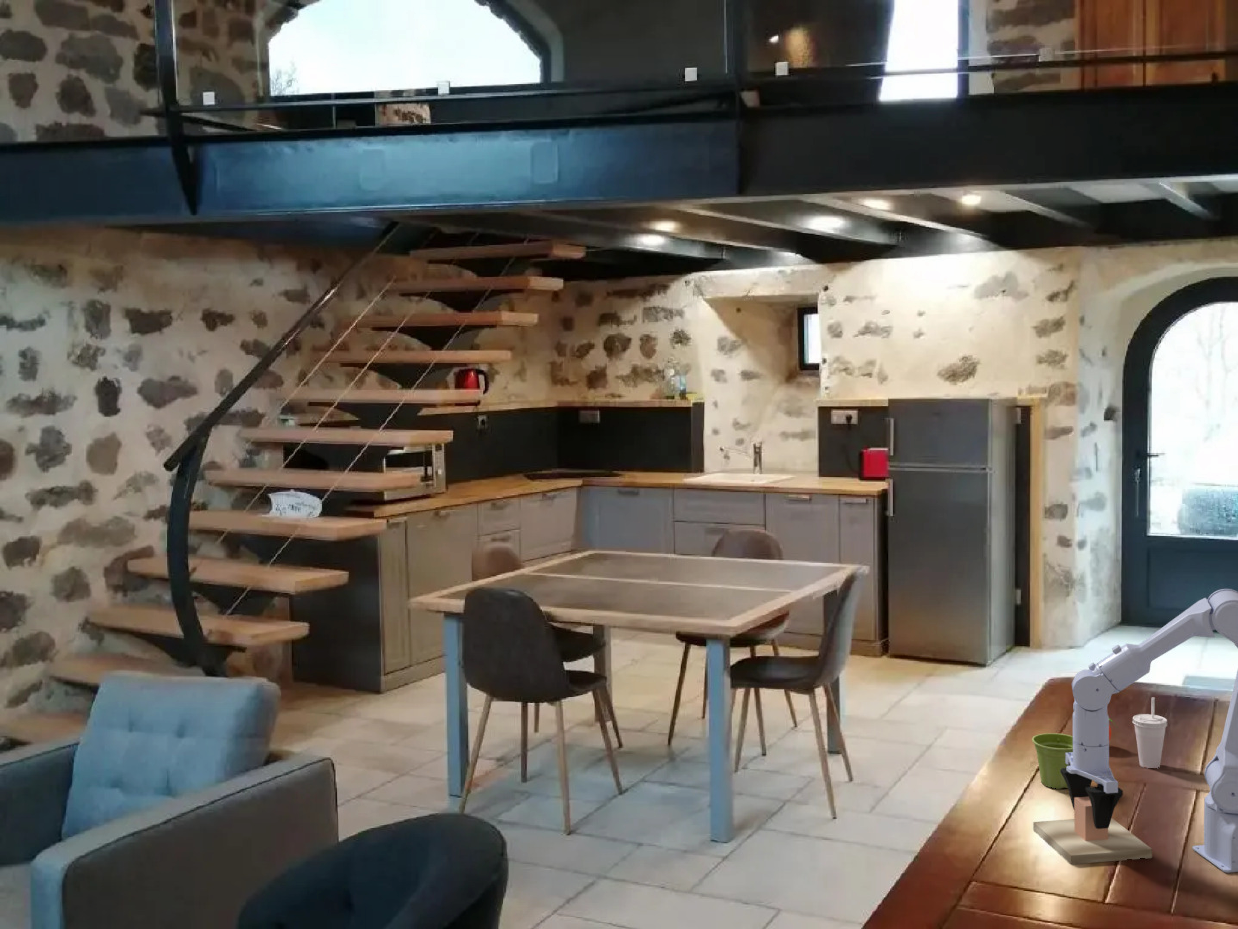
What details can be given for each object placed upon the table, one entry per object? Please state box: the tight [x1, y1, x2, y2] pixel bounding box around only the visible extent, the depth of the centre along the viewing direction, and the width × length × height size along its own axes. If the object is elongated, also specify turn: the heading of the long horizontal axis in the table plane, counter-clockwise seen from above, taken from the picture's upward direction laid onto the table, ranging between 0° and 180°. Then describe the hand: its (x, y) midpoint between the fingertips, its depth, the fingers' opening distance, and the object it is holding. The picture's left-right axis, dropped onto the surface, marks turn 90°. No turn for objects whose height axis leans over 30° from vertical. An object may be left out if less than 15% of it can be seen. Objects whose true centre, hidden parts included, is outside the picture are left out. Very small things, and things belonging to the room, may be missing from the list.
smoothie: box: [1132, 696, 1168, 769], centre depth 235 cm, size 6×6×14 cm
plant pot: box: [1031, 732, 1073, 790], centre depth 227 cm, size 9×9×9 cm
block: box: [1073, 797, 1108, 841], centre depth 200 cm, size 4×4×6 cm
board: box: [1033, 817, 1153, 865], centre depth 200 cm, size 14×14×2 cm
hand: (1090, 818), depth 200 cm, fingers open, 7 cm apart
